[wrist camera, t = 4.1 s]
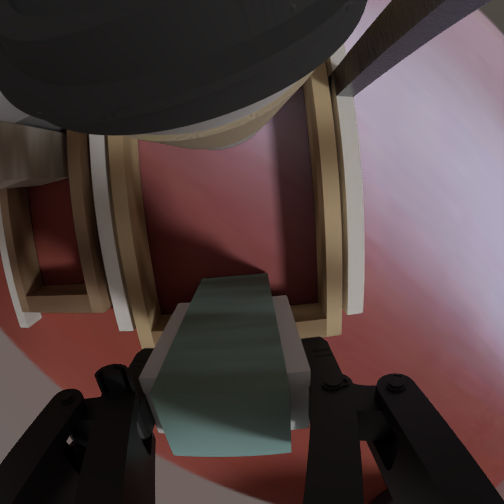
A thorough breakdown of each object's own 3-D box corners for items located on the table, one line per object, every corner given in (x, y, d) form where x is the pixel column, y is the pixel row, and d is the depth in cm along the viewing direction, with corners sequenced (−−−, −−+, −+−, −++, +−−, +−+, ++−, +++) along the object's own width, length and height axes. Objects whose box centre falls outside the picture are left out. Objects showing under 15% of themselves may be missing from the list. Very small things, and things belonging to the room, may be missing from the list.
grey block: (82, 124, 16) (38, 111, 11) (30, 142, 16) (-15, 137, 11) (84, 60, 15) (46, 36, 10) (33, 82, 15) (-8, 68, 10)
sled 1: (119, 298, 19) (47, 370, 10) (39, 300, 19) (-35, 353, 10) (101, 21, 14) (37, -39, 5) (24, 56, 14) (-48, 26, 5)
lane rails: (352, 300, 19) (362, 312, 17) (34, 317, 19) (20, 327, 17) (317, -20, 14) (323, -36, 12) (16, 49, 14) (2, 43, 12)
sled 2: (331, 317, 19) (398, 438, 8) (152, 331, 19) (84, 449, 8) (305, 17, 15) (350, -98, 4) (124, 40, 15) (37, -46, 4)
